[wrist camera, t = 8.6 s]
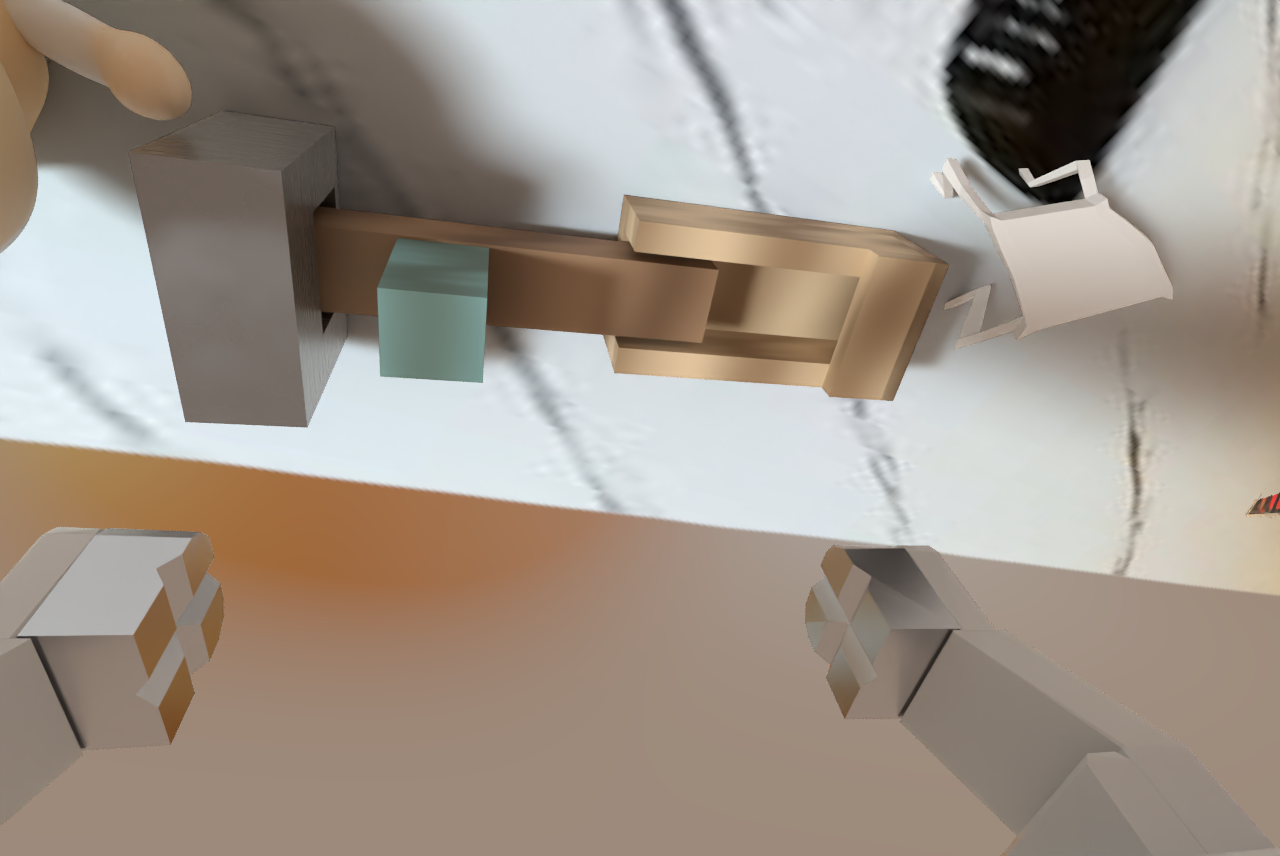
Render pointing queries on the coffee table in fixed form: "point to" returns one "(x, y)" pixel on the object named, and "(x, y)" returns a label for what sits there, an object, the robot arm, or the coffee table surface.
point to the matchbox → (1266, 506)
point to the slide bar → (496, 287)
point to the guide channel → (787, 299)
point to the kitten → (121, 60)
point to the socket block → (242, 264)
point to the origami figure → (1059, 256)
